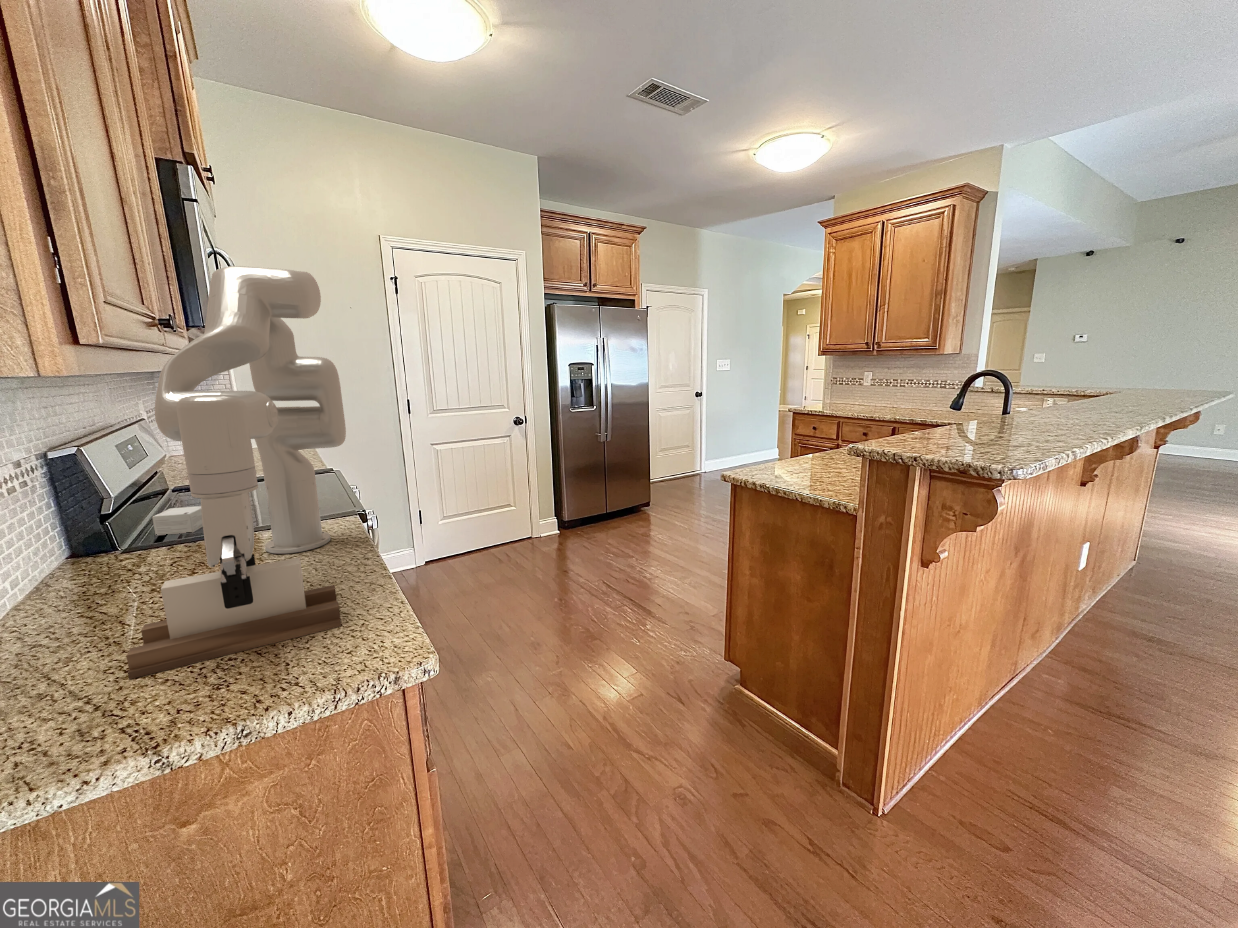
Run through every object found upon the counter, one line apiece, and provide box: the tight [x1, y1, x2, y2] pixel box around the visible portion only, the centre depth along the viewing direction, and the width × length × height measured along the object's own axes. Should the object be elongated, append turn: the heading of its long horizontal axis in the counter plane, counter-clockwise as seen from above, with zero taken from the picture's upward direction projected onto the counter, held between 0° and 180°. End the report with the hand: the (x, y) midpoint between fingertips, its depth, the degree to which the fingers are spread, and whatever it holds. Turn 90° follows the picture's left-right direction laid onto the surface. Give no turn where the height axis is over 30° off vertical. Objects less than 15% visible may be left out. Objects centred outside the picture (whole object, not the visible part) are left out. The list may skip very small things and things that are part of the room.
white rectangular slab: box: [160, 557, 307, 639], centre depth 72 cm, size 3×16×9 cm, turn 124°
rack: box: [126, 584, 342, 680], centre depth 73 cm, size 11×24×3 cm, turn 124°
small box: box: [152, 505, 203, 536], centre depth 123 cm, size 8×8×5 cm
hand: (242, 592), depth 73 cm, fingers open, 9 cm apart
